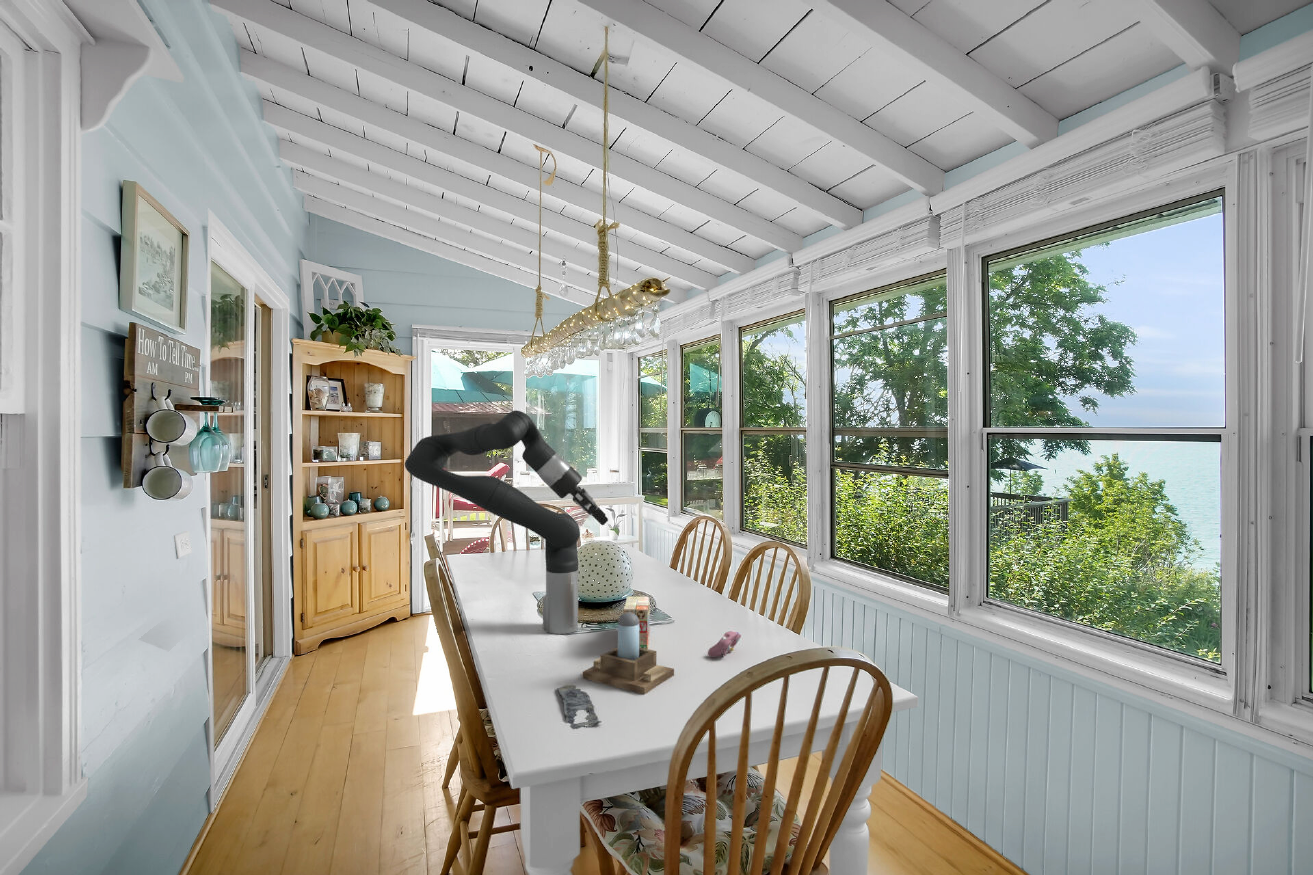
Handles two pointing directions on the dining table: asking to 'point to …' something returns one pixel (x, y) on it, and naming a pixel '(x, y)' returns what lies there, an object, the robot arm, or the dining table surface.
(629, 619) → the ball on cylinder
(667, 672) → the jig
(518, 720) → the dining table surface
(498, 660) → the dining table surface
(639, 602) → the stack of blocks
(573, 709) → the driftwood
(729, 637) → the video game controller
